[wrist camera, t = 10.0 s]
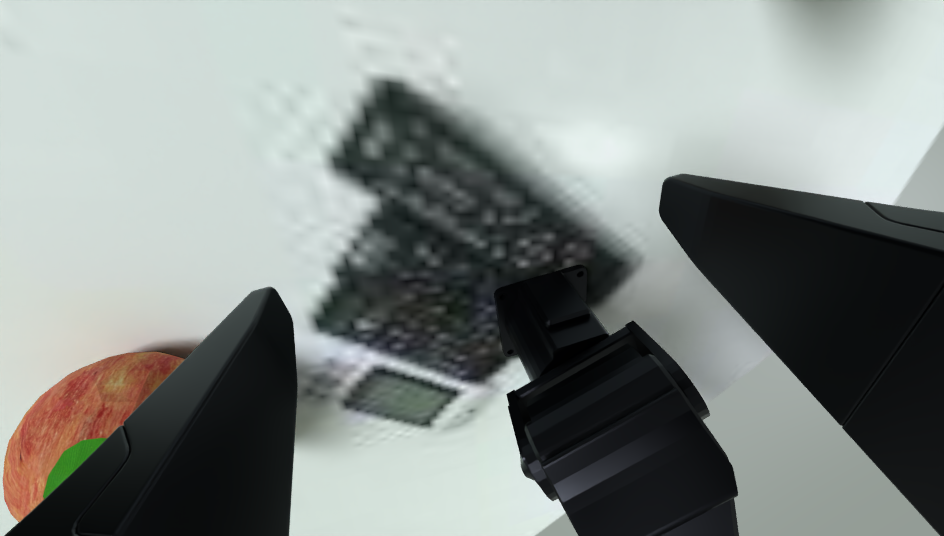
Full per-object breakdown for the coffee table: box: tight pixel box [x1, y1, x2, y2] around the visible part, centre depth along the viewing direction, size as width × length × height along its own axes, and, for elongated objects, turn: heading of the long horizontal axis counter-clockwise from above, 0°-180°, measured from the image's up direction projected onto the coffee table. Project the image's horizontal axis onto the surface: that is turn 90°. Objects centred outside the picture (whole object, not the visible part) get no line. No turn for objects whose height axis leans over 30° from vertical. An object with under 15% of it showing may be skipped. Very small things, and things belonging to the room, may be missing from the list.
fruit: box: [3, 352, 185, 522], centre depth 21 cm, size 9×10×10 cm
